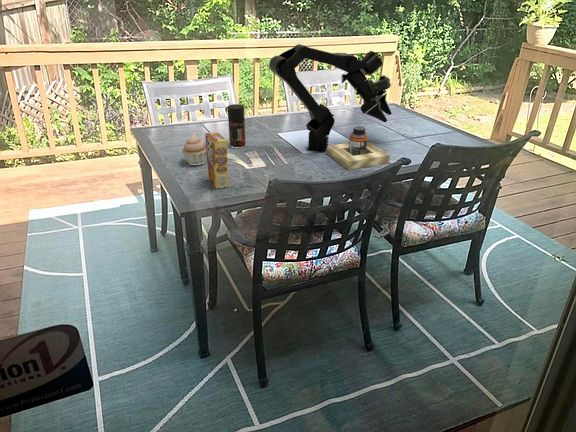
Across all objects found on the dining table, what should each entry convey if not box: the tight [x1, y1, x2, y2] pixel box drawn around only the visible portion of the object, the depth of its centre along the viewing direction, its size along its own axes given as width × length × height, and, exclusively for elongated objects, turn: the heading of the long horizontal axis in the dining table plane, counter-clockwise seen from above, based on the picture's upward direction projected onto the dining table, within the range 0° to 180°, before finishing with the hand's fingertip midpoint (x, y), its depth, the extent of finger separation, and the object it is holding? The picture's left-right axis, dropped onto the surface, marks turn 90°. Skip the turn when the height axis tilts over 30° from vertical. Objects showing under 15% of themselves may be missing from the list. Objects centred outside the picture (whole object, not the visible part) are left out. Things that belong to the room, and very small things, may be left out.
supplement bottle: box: [349, 125, 368, 156], centre depth 162 cm, size 6×6×11 cm
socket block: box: [326, 140, 390, 171], centre depth 164 cm, size 16×16×3 cm
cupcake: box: [181, 134, 207, 164], centre depth 158 cm, size 9×9×10 cm
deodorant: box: [227, 103, 246, 147], centre depth 171 cm, size 6×6×15 cm
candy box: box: [204, 131, 229, 190], centre depth 142 cm, size 9×4×15 cm, turn 26°
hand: (388, 117), depth 168 cm, fingers open, 9 cm apart
